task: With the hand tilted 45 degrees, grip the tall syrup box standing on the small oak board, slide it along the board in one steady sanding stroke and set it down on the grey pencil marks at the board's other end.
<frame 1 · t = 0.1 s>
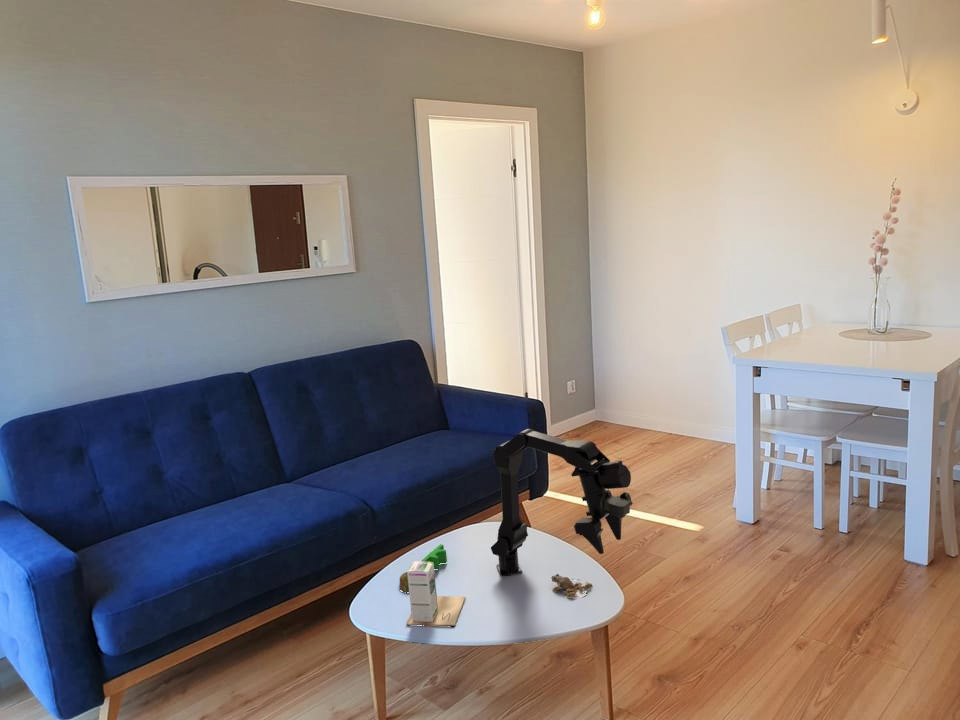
hand: (610, 546, 194), 15 cm above the table, tool pointing down, fingers open, 9 cm apart
syrup box: (424, 616, 197), resting on board
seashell: (415, 586, 215), on the table
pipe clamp: (437, 567, 225), on the table
frog figurine: (569, 591, 205), on the table
board: (436, 611, 200), on the table
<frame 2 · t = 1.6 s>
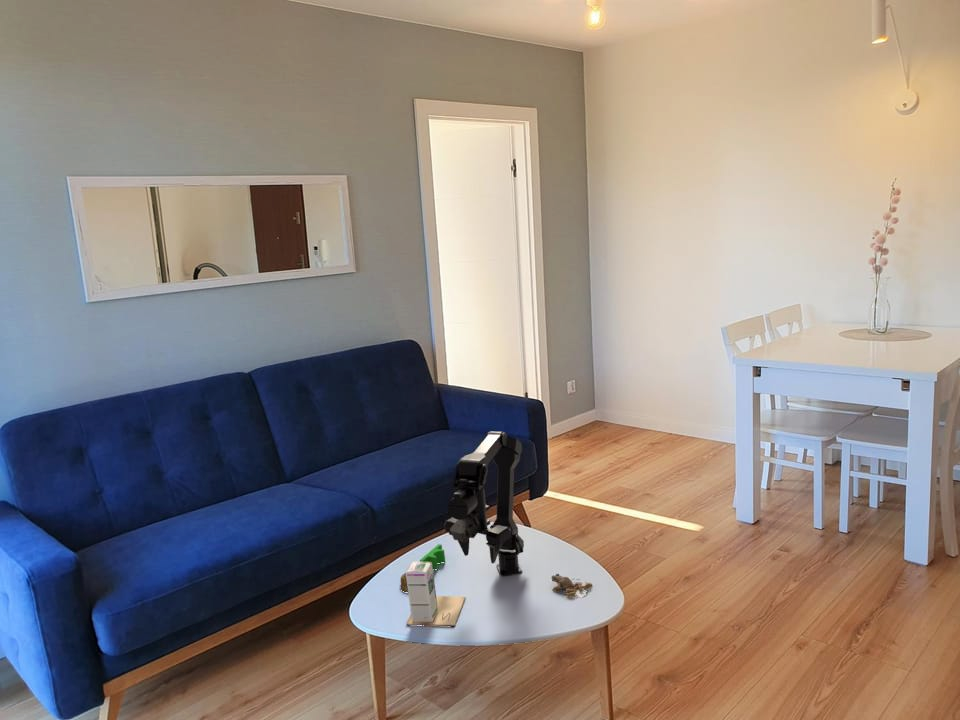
hand: (479, 559, 199), 13 cm above the table, tool pointing down, fingers open, 9 cm apart
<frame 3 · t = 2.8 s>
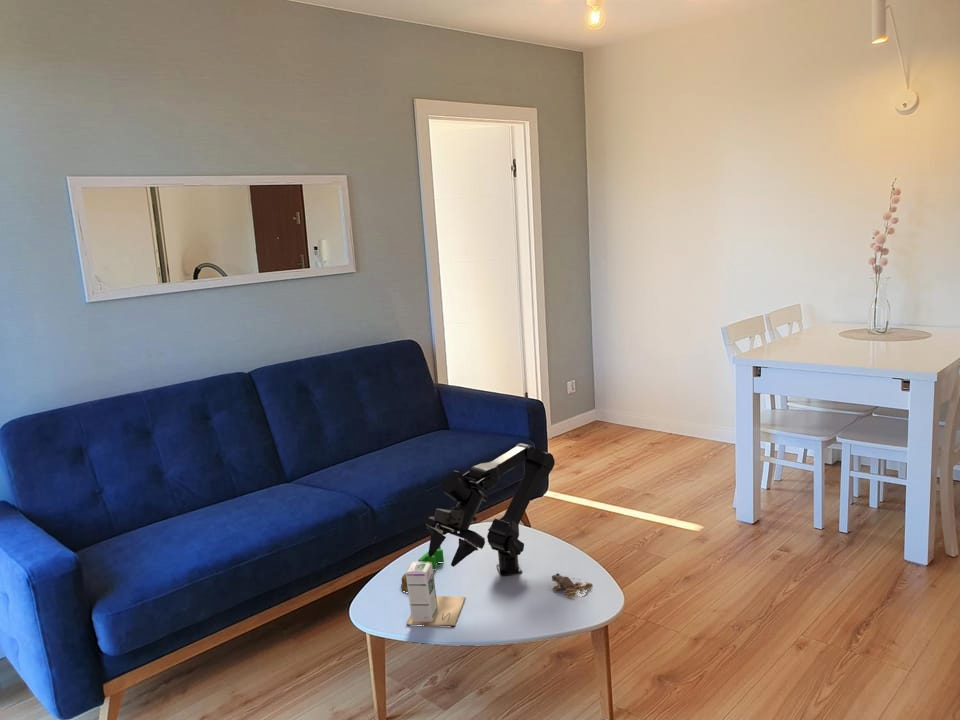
hand: (440, 561, 199), 13 cm above the table, tool tilted 45°, fingers open, 9 cm apart
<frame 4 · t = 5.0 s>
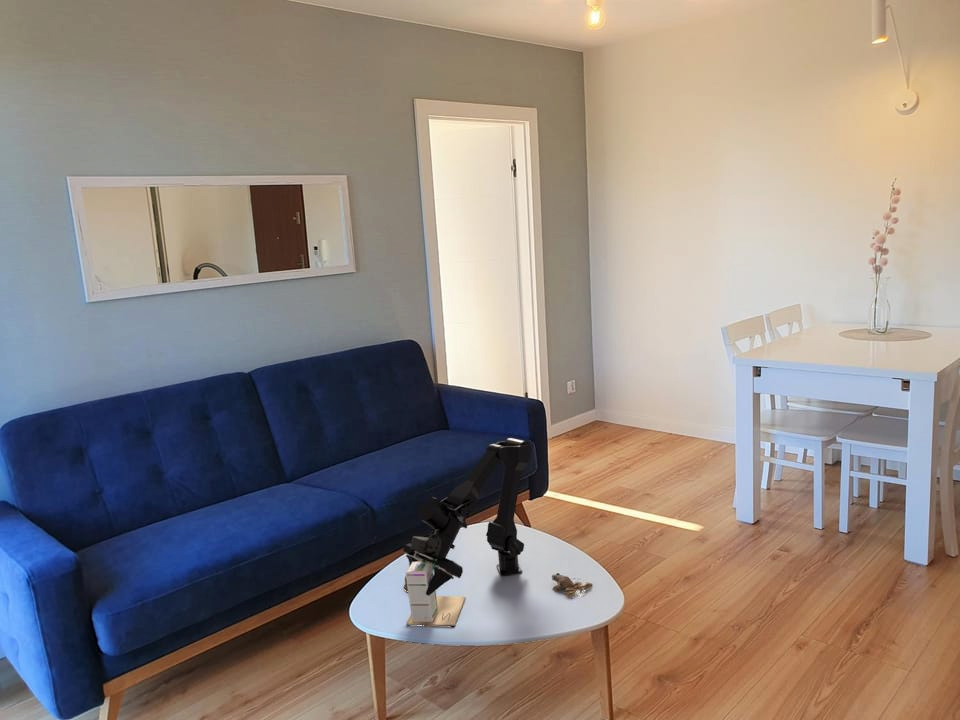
hand: (417, 590, 194), 9 cm above the table, tool tilted 45°, fingers closed on syrup box, 7 cm apart
syrup box: (424, 617, 197), resting on board, touching gripper
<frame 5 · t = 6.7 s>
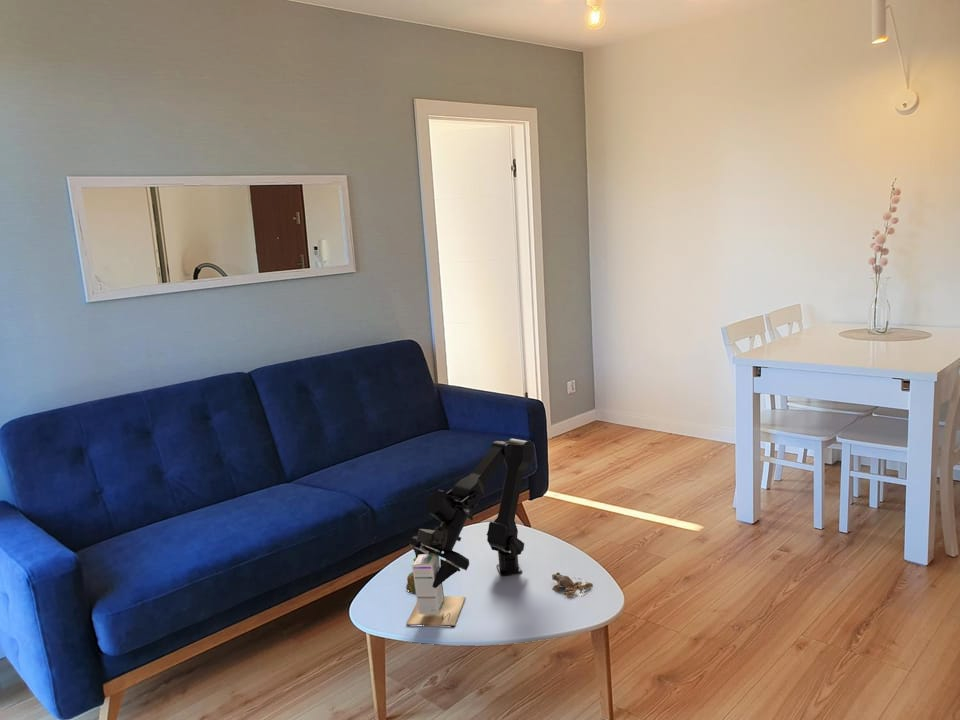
hand: (424, 582, 194), 11 cm above the table, tool tilted 45°, fingers closed on syrup box, 7 cm apart
syrup box: (431, 609, 196), point 2 cm above the table, touching gripper
when the fingers open (9 cm above the table, at t = 8.5 s): syrup box stays where it is, resting on board.
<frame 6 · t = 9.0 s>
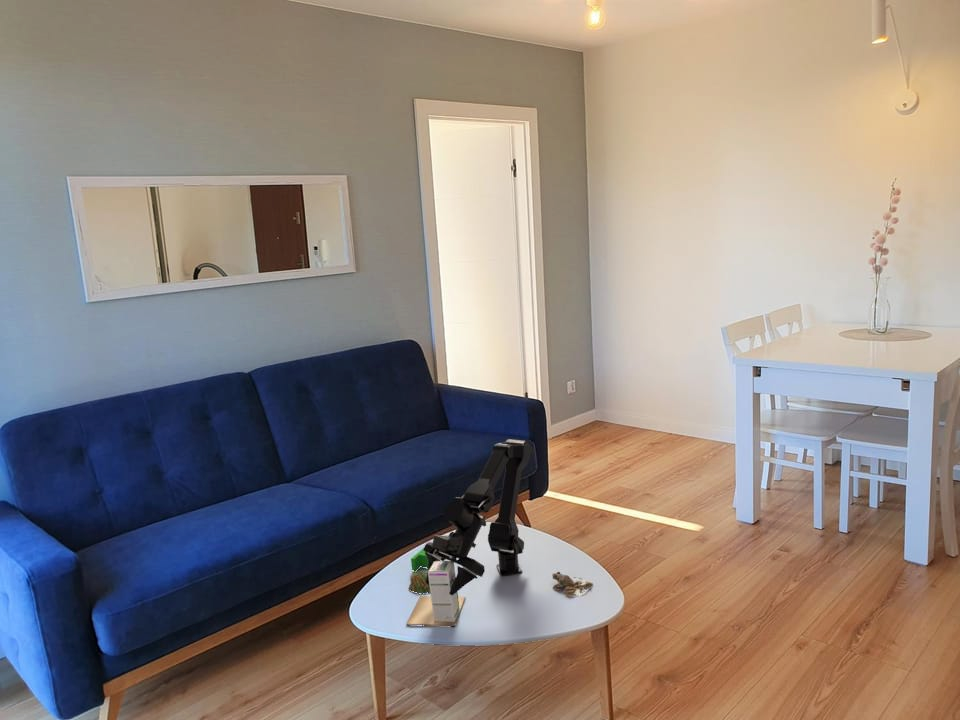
hand: (438, 589, 193), 9 cm above the table, tool tilted 45°, fingers open, 9 cm apart
syrup box: (446, 616, 196), resting on board
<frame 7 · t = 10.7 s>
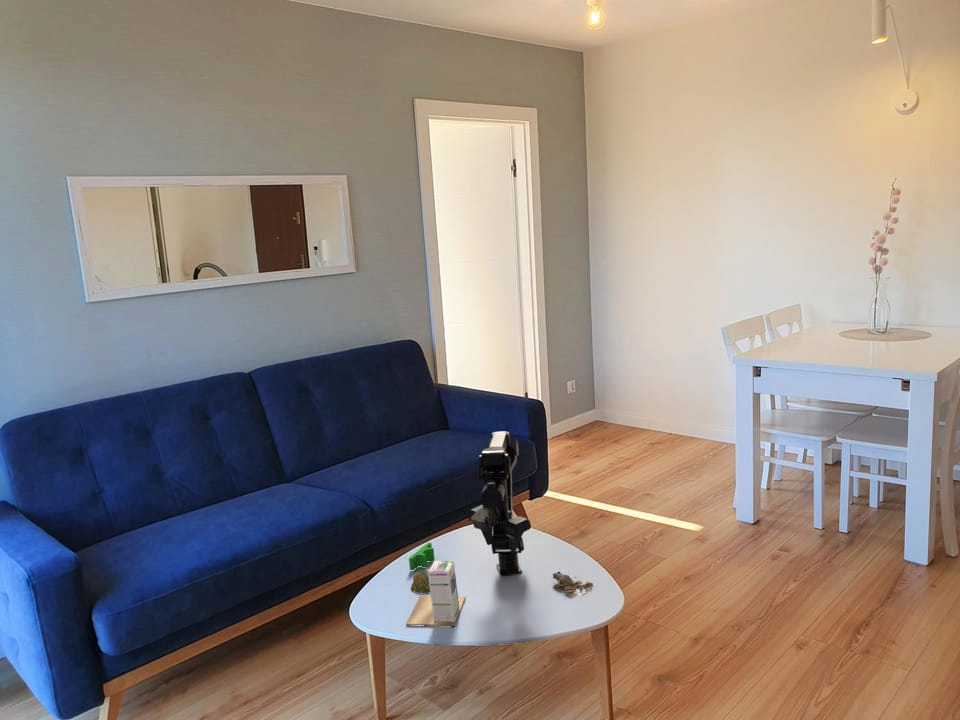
hand: (501, 548, 204), 13 cm above the table, tool pointing down, fingers open, 9 cm apart
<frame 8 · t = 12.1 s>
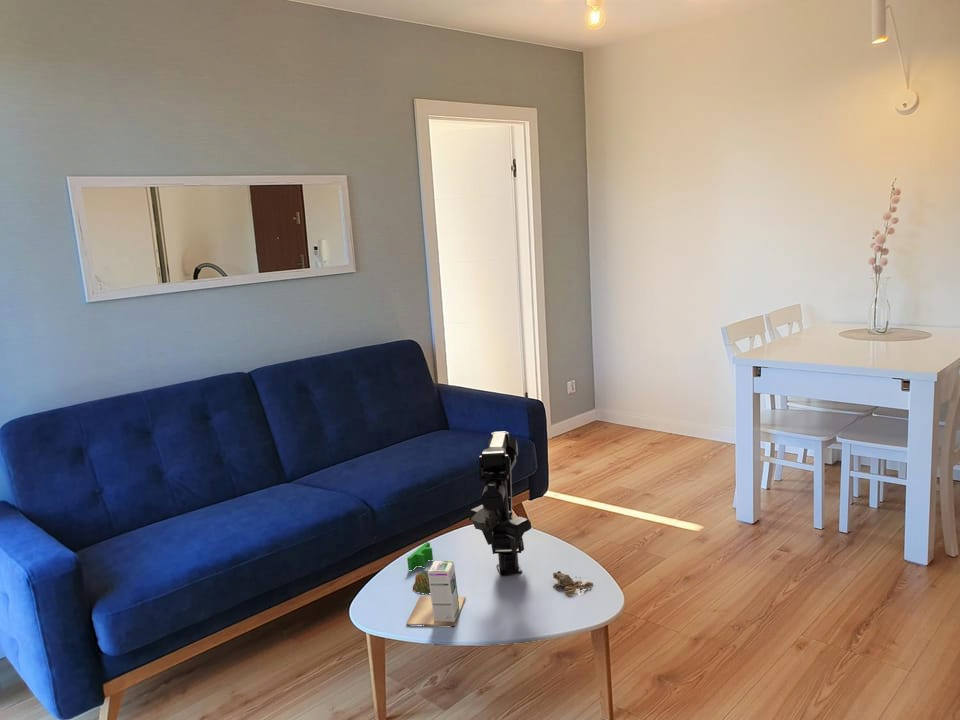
hand: (501, 548, 204), 13 cm above the table, tool pointing down, fingers open, 9 cm apart
at the end: syrup box 0.1 cm from the target spot, resting on board; syrup box tilted 0°; the gripper is holding nothing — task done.
